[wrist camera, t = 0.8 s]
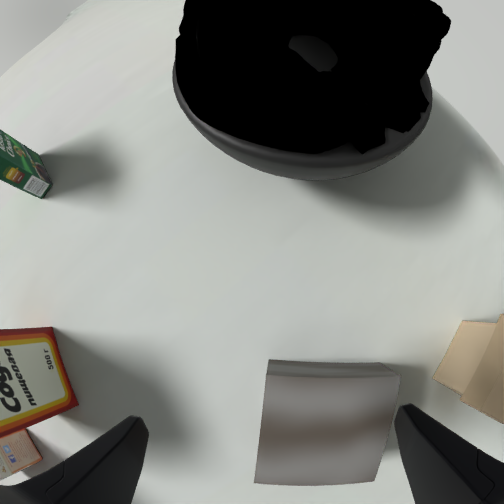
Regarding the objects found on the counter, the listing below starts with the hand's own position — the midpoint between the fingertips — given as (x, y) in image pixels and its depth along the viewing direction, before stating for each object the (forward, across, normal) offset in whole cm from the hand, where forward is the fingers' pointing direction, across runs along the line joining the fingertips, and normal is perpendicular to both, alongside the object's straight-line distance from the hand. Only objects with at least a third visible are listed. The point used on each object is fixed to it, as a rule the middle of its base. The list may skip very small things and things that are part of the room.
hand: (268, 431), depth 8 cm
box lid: (+7, -20, +8) cm, 22 cm away
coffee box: (+23, +29, -13) cm, 39 cm away
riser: (+12, -4, +12) cm, 17 cm away
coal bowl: (+23, -4, -13) cm, 27 cm away
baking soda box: (+13, +27, +10) cm, 31 cm away
